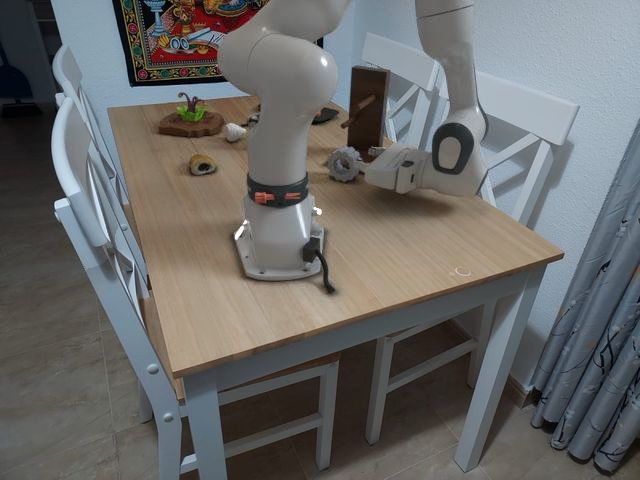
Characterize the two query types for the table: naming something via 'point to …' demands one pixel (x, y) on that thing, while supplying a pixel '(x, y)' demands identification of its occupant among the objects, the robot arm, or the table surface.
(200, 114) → the plant
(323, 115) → the sushi plate
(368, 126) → the stand
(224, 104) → the table surface
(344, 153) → the grey knurled ring
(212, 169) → the pastry
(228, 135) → the white cream swirl
